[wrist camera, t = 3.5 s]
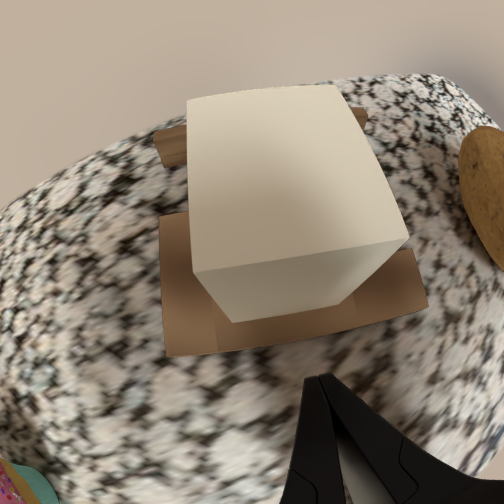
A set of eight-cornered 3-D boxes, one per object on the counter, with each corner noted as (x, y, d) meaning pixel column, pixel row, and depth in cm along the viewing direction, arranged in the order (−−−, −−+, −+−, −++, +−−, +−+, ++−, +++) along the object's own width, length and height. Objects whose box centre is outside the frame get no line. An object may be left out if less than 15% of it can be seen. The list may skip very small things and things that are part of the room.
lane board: (421, 310, 16) (445, 299, 13) (171, 357, 16) (153, 355, 13) (355, 133, 22) (363, 107, 19) (164, 157, 21) (153, 132, 19)
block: (338, 304, 16) (409, 237, 7) (232, 323, 15) (192, 272, 7) (310, 199, 18) (335, 84, 10) (218, 212, 18) (186, 100, 10)
